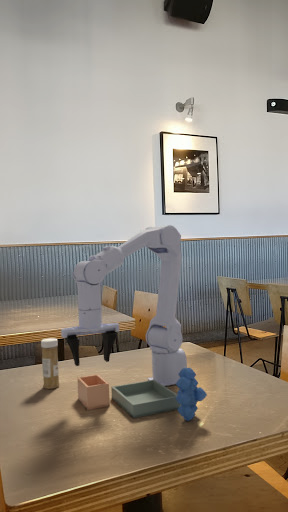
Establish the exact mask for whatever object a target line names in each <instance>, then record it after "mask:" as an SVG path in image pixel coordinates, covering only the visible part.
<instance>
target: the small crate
mask: <svg viewBox="0 0 288 512" xmlns="http://www.w3.org/2000/svg"><path fill="white" fill-rule="evenodd" d="M76 380H77V398H78V400H79V401H80V402H81V404H82V405H83V406H84V408H85V409H87V410H88V411H90V410H95V409H101V408H105V407H110V405H111V404H110V384H109V382H107V380H105V379H104V378H103V377H102V376H101V375H100V374H98V373H97V374H91V375H86V376H85V375H84V376H79V377H77V379H76Z"/></svg>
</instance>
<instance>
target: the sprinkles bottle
mask: <svg viewBox="0 0 288 512" xmlns="http://www.w3.org/2000/svg"><path fill="white" fill-rule="evenodd" d="M58 345H59V344H58V339H57V338H55V337H54V338H53V337H48V338H43V339H41V341H40V347H41V355H42V356H41V361H42V362H41V363H42V376H43V378H42V381H43V385H42V386H43V389H47V390H52V389H56V388H58V387H59V386H60V382H59V381H60V378H59V375H60V374H59V358H58Z"/></svg>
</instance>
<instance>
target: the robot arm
mask: <svg viewBox="0 0 288 512" xmlns="http://www.w3.org/2000/svg"><path fill="white" fill-rule="evenodd" d="M181 240H182V234H181V233H180V232H179V231H178V229H177V227H175V226H174V225H171V224H170V225H163V226H149V227H146V228H145V229H143V230H140V231H139V232H138V233H136V234H135V235H134V236H132V237H130V238H129V239H128V240H126V241H124V243H122V244H120V245H119V246H115V245H105V246H104V247H102V250H101V251H99V252H98V253H96V254H95V255H94V254H93V255H92V254H91V255H90V256H88V259H87V260H82V261H79V262H78V263H77V264H76V265H75V267H74V270H73V271H72V272H71V273H72V274H71V275H72V278H73V280H74V281H75V282H76V288H77V304H78V306H77V308H78V325H77V326H71V327H65V328H60V335H61V338H62V339H65V341H66V343H67V345H68V347H69V349H70V351H71V352H70V353H71V355H72V357H73V358H72V359H73V361H74V365H75V366H76V367H79V366H80V339H79V338H78V336H87V335H94V334H101V336H102V343H103V344H102V345H103V360H104V362H106V363H107V362H108V363H109V362H110V356H111V353H112V349H113V346H114V344H115V341H116V339H117V337H118V333H117V332H120V323H119V322H114V323H113V322H112V323H103V321H102V320H103V318H102V317H103V316H102V314H103V313H102V296H101V295H102V293H101V292H102V291H101V289H102V287H101V283H102V282H103V281H104V279H105V276H107V275H108V274H110V273H112V272H113V271H114V270H116V269H118V268H119V267H120V266H122V265H123V264H124V260H125V258H127V257H129V256H130V255H132V254H134V253H136V252H138V251H139V250H142V249H143V248H147V249H148V250H149V251H150V252H152V253H153V254H155V255H157V257H158V258H159V260H160V261H161V264H160V265H161V266H160V267H161V268H160V275H159V285H158V293H157V302H156V314H155V316H153V317H152V319H151V320H150V321H149V325H148V329H147V330H146V332H145V340H146V343H147V345H148V346H149V347H150V349H149V350H151V366H152V367H151V368H152V369H151V370H152V377H148V378H147V379H146V381H148V380H155V381H157V382H159V383H160V384H162V385H163V386H165V387H167V386H168V387H169V386H172V385H176V383H177V381H178V380H179V379H180V376H179V375H178V374H179V372H180V371H181V370H182V369H183V368H188V360H187V355H186V353H185V351H184V349H182V348H181V347H182V344H183V334H182V324H181V323H180V321H179V320H178V319H177V318H176V313H177V306H178V305H177V303H178V295H179V294H178V293H179V285H180V275H181V265H182V264H181V263H182V252H181V242H182V241H181Z"/></svg>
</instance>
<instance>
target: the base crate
mask: <svg viewBox="0 0 288 512" xmlns="http://www.w3.org/2000/svg"><path fill="white" fill-rule="evenodd" d="M177 395H178V394H177V392H175V391H173V390H171V389H169V387H167V386H163V385H162V384H160V383H159V382H157V381H155V380H144V381H138V382H132V383H125V384H120V385H114V386H112V385H111V399H112V401H114V402H115V403H116V404H117V405H118V406H120V407H121V409H123V410H124V411H125V412H126V413H127V414H128V415H129V416H130V417H132V419H136V418H137V419H138V418H141V417H147V416H151V415H157V414H161V413H168V412H171V411H178V410H177V409H178V408H179V407H180V404H179V403H178V401H177V400H176V396H177Z"/></svg>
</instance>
